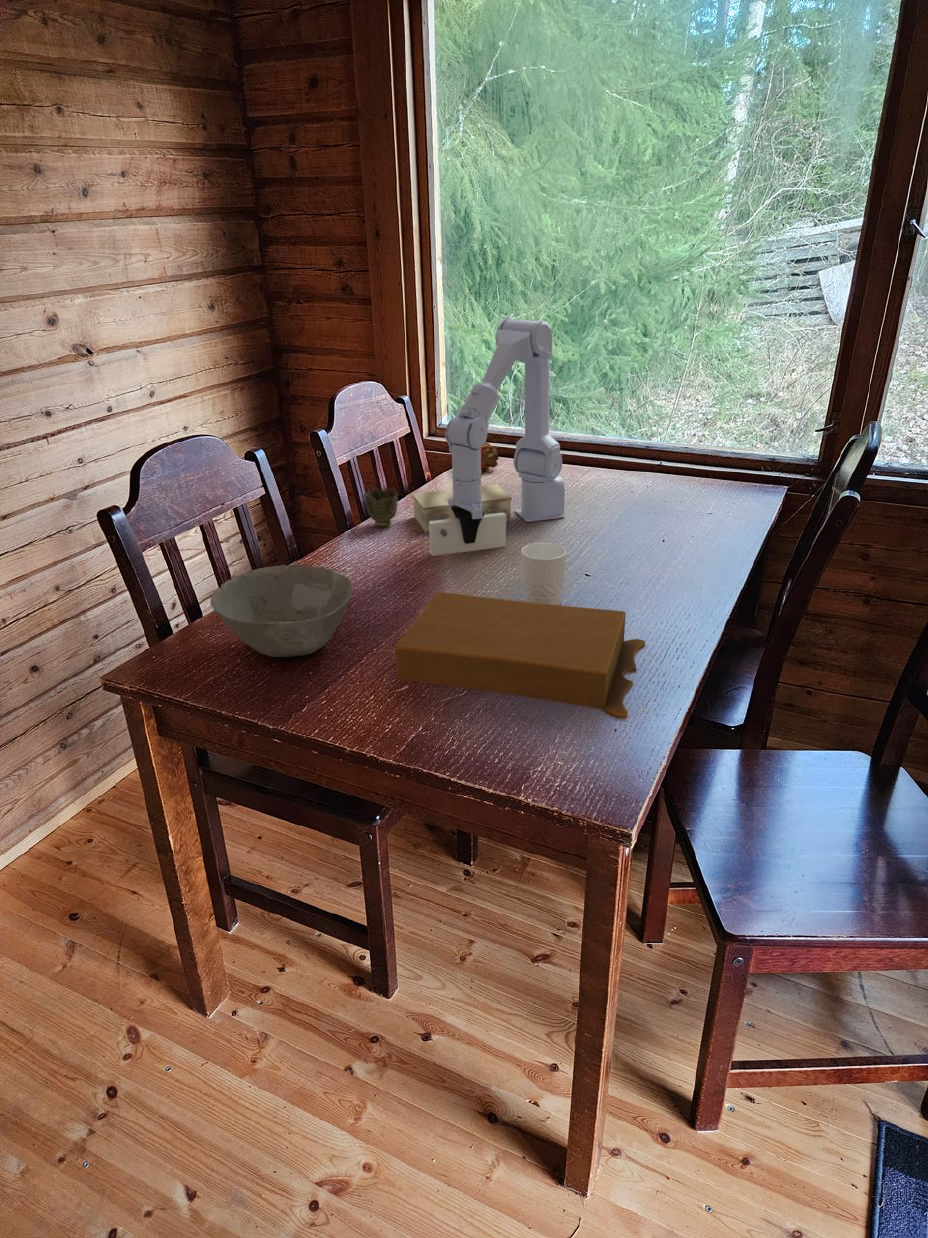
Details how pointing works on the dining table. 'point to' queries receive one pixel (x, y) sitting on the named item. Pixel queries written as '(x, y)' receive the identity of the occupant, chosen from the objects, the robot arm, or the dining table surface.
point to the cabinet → (437, 506)
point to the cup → (381, 505)
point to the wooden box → (521, 650)
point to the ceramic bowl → (284, 607)
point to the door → (450, 536)
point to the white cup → (543, 572)
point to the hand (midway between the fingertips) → (468, 540)
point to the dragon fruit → (488, 457)
